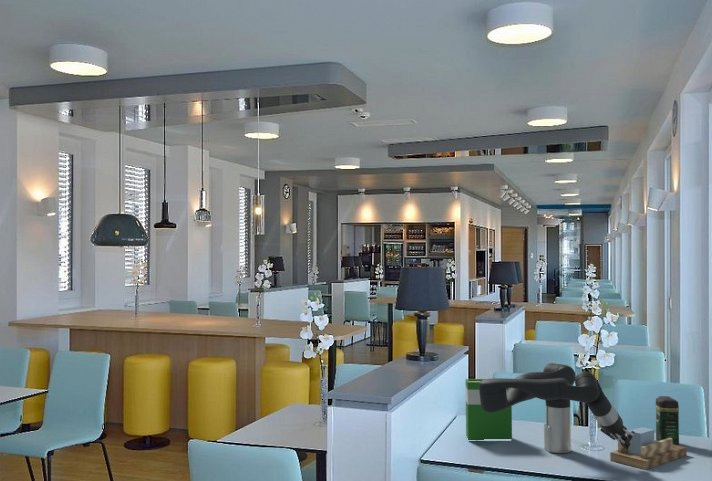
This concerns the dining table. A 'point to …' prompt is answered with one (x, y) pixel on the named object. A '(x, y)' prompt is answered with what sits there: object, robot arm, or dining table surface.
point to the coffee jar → (667, 419)
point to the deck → (649, 454)
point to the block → (640, 440)
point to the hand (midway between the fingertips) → (627, 446)
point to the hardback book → (485, 417)
